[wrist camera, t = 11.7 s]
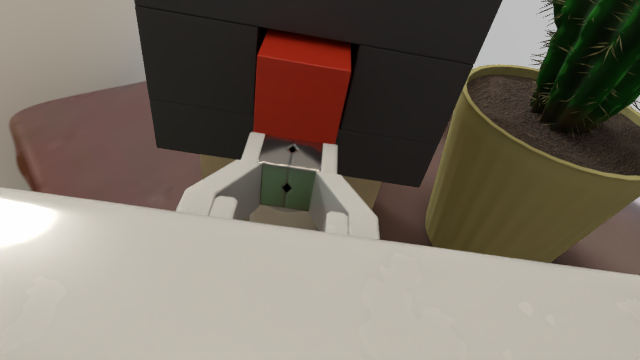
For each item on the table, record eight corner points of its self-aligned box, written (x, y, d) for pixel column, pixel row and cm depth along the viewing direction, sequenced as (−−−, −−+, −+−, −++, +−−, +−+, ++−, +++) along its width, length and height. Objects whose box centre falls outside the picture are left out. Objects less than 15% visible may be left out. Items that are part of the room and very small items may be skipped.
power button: (264, 96, 19) (269, 23, 17) (336, 108, 19) (350, 38, 17) (252, 134, 17) (256, 55, 14) (334, 146, 17) (351, 71, 15)
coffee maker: (224, 168, 40) (221, -132, 24) (356, 188, 41) (440, -89, 25) (173, 307, 28) (99, -107, 12) (361, 330, 29) (527, -25, 13)
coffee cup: (312, 240, 33) (329, 164, 28) (308, 294, 29) (327, 217, 24) (252, 232, 33) (256, 153, 27) (239, 285, 29) (242, 205, 23)
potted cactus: (595, 293, 36) (1046, -105, 16) (452, 320, 31) (833, -186, 11) (498, 181, 46) (697, -140, 27) (382, 189, 42) (517, -188, 22)
